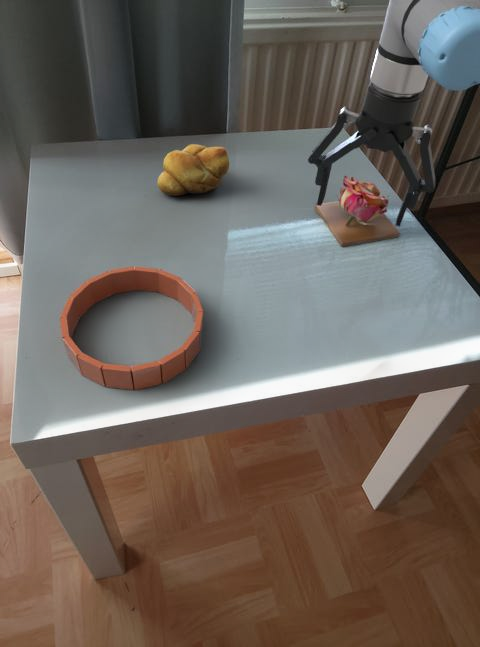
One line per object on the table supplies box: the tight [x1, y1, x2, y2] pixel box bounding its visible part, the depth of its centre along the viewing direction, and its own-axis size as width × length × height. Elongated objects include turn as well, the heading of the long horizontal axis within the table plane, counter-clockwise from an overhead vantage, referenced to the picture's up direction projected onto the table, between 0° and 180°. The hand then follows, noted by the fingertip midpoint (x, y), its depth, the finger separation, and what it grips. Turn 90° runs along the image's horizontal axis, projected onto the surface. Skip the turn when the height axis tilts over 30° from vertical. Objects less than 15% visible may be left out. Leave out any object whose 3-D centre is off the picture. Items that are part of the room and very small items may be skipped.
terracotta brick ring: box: [59, 265, 204, 391], centre depth 67 cm, size 18×18×4 cm
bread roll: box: [157, 143, 230, 197], centre depth 89 cm, size 13×10×8 cm
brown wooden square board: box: [314, 200, 401, 248], centre depth 88 cm, size 11×11×1 cm
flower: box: [336, 175, 390, 227], centre depth 85 cm, size 10×9×8 cm
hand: (358, 211), depth 86 cm, fingers open, 13 cm apart
